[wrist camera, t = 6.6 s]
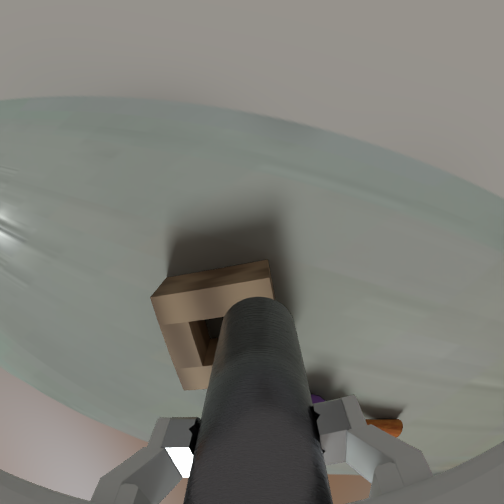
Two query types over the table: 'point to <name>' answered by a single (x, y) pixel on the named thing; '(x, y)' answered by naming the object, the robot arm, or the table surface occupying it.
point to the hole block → (203, 313)
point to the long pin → (258, 416)
